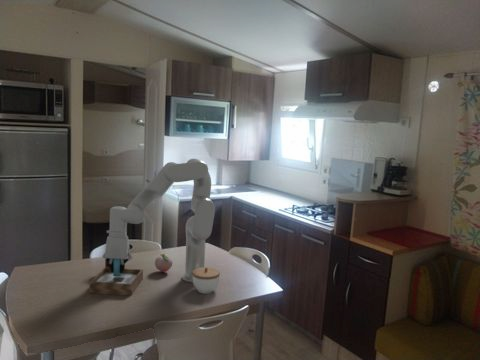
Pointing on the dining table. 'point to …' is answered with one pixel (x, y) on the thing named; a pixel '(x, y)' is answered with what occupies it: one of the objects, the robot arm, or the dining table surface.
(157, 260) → the decorative fruit
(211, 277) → the lidded bowl
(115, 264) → the peg
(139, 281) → the bore box
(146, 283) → the dining table surface
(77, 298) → the dining table surface
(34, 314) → the dining table surface
